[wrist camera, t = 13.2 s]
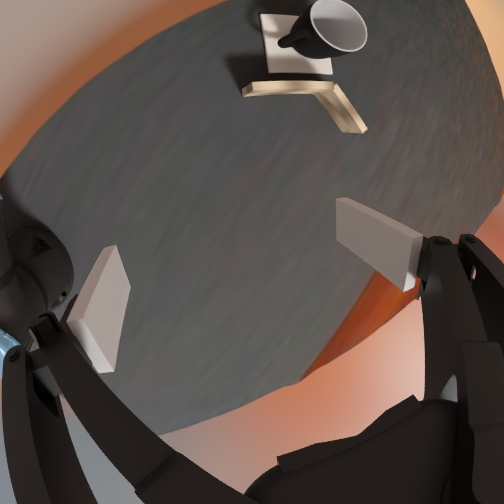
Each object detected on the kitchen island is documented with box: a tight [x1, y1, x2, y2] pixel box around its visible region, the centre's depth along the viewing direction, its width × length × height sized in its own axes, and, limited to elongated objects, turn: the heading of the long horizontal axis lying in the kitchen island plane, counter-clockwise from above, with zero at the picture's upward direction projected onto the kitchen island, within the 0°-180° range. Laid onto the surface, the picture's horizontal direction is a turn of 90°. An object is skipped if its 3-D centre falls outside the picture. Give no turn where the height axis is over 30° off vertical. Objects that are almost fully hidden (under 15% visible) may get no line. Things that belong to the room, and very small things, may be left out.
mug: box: [277, 0, 367, 59], centre depth 28 cm, size 12×9×10 cm
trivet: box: [260, 14, 333, 75], centre depth 33 cm, size 11×11×1 cm
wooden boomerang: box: [242, 81, 367, 133], centre depth 35 cm, size 18×8×6 cm, turn 97°
